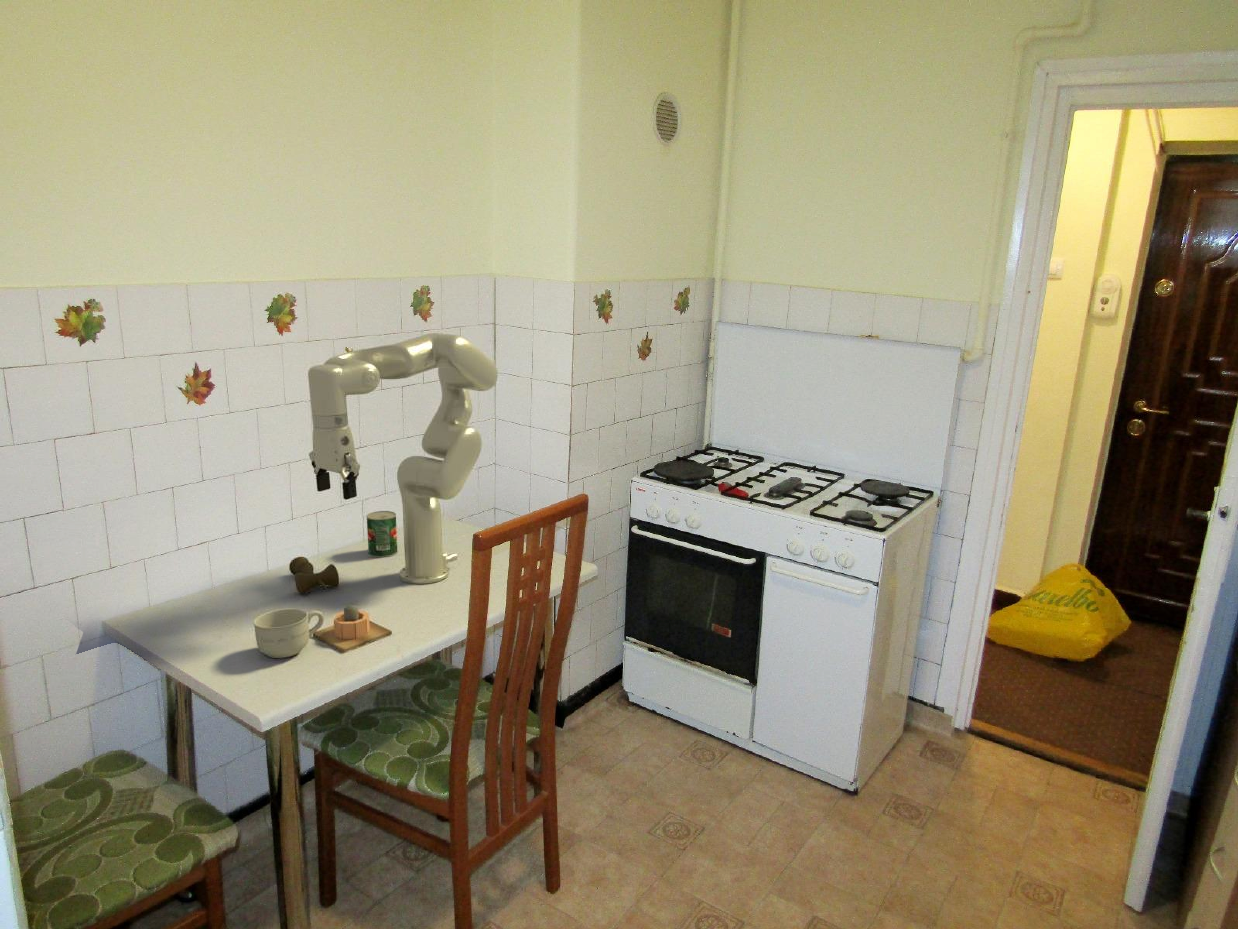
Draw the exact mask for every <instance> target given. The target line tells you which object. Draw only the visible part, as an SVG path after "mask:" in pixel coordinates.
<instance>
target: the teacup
mask: <svg viewBox="0 0 1238 929" xmlns="http://www.w3.org/2000/svg"><path fill="white" fill-rule="evenodd" d="M315 616H317V617H318V620H317V623H316V624H315V625H314V626H313V627H312V628H310V627H309V625H310V623H311V619H312V618H313V617H315ZM324 621H325V617H324V615H323V613H322V612H321V611H319V610H312V611H310V612H307V610H304V609H301V608H280V609H275V610H271V611H268V612H265V613H262V614H260V615H258V616H257V617H256V618H255V619H254V620H253V623H252V624H253V626H254V633H255V634H254V635H255V642H256V646H257V647H258V650H259V651H260V652H261V653H262V654H265V655H267V656H268V657H269V658H271V659H272V658H274V659H282V658H288V657H292V656H295V655H297V654H299V653H300V652H302V650H303V649H304V648H305V647H306V646H307V645H308V643H309V640H310V638H311V637H313V633H315V632H317V631H319V630H320V628H321V627H322V626H323V624H324Z"/></svg>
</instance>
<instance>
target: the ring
mask: <svg viewBox="0 0 1238 929" xmlns="http://www.w3.org/2000/svg"><path fill="white" fill-rule="evenodd" d="M358 614H359V620H357V621H354V622H345V620H344V611H342V612H340V613H337V614H335V616H334V619H333V625H334V632H335V636H337V637H339V638H341V639H355V638H356V639H357V638H359V637H362V636H365V635H367V634H368V632H369V629H370V627H369V621H370V615H369V614H370V613H368V612H366V611H365V610H362V609H361V610H360V609H358Z"/></svg>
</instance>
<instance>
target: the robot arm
mask: <svg viewBox="0 0 1238 929" xmlns="http://www.w3.org/2000/svg"><path fill="white" fill-rule="evenodd" d="M437 368H438V370H437V375H438V380H439V383H440V387H441V388H440V389H441V401H440V404H439V405H438V408H437V410H436V412H435V414H434V416H433V417H432V419H431V421H430V423H429V424H428V426H427V428H426V430H425V431H424V434H423V435H422V439H421V447H422V450H423V451H424V452H425V453H426V454H427V455H430V456H432V457H428V456H423V455H411V456H409V457H406V458H405V459H404V460H402V461H401V462H400V464H399V465H398V467H397V472H396V479H397V486H398V489H399V493H400V497H401V504H402V518H403V519H402V522H403V523H402V525H403V545H404V567H403V568H402V569H400V571H399V572H398V573H399V578H400V580H402V581H404V582H406V583H411V584H420V585H421V584H430V583H431V584H432V583H436V582H439V581H442V580H444V579H446V578H447V577H448V576H449V575H450V569H449V567H448V566H447V565H449V563H452V562H455V561H457V560H458V555H457V554H456V553H455V552H454V553H451V554H448V555H447V553H443V533H442V531H443V530H442V508H441V504H440V501H439V500H446V501H447V500H452V499H453V498H454V499H455V497H456V496H458V495H459V493H460V492H461V491H462V490H463V488H464V485H466V482H467V480H468V478H469V476H470V475H471V473H472V471H473V468H474V467H475V465H476V463H477V461H478V459H479V457H480V454H481V452H482V451H481V450H482V444H483V443H482V442H483V441H482V436H481V434H480V432H479V431H478V430H477V429H476V428H475V427H473V426H471V425H468V424H469V421H470V419H471V417H472V414H473V403H472V400H471V397H470V393H469V390H470V391H476V392H477V391H478V392H486V391H489V390H491V389H493V387H495V385H496V384H497V380H498V376H499V375H498V373H499V372H498V368H497V366H496V364H495V362H494V361H493V360H492V359H491V358H490V357H489V356H487V355H486V354H485V353H484V352H483V350H481V349H479V347H477V346H476V345H475V344H473V343H472V342H471V341H470V340H468V339H466V338H465V337H463V336H461V335H459V334H451V333H450V334H448V333H440V332H439V333H438V332H437V333H436V332H431V333H426V334H423V335H420V336H416V337H414V338H409V339H407V340H402V341H400V342H396V343H391V344H386V345H380V346H374V347H368V348H362V349H357V350H352V351H349V352H344V353H342V354H338V355H335V356H333V357H330V358H328V359H327V360H326V361H325V362H324V363H323V364H318V365H313V366H311V367H310V368H309V369H308V370H307V371H308V372H307V379H308V388H309V389H308V390H309V401H310V408H311V409H310V410H311V420H312V421H311V422H312V451H310V452H309V453H308V456H309V459H310V462H311V466H312V467H313V473H314V474H315V480H316V489H317V490H316V491H317V492H324V491H327V490H330V489H331V478H330V472H331V473H335V474H339V475H340V476H341V479H342V480H343V481H342V483H341V484H342V497H343V499H344V500H349V499H353V498H356V497H357V495H358V494H357V493H358V492H357V482H356V481H357V480H358V476H359V474H360V468H361V464H360V463H359V462H358V461H357V455H356V447H355V442H354V437H353V433H352V431H351V430H352V429H351V427H350V426H349V419H348V418H349V417H348V416H349V415H348V407H347V404H348V403H347V396H352V395H353V396H354V395H357V396H358V395H367V394H370V393H371V392H373V391H375V390H377V387H378V386H379V385H380V382H381V380H401V379H403V380H404V379H409V378H410V377H413V376H416V375H419V374H422V373H425V372H426V371H427V372H428V371H430V370H433V369H437ZM433 457H434V458H433ZM436 458H437V459H436ZM442 459H443V460H442ZM346 473H348V474H346Z"/></svg>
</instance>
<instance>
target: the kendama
mask: <svg viewBox="0 0 1238 929" xmlns="http://www.w3.org/2000/svg"><path fill="white" fill-rule="evenodd" d="M288 569H289V572H290V573H291V574H292V575H293V576H294V583H295V588H296V590H297V593H298V594H299V595H301V596H304V595H306V594H307V593H308V592H310V591H311V590H312V589H315V588H318V587H322V588H324V589H327V588H328V587H331V588H339V586H340V577H339V576H340V575H339V571H338V569H337V567H336V566H335V565H334V564H332V563H330V564H328V565H327V566H326V568H324V569H323V570H321V571H320V572H317V573H315V572H314V566H313V564H312V563H311V562H310V561H309V560H308V558H307V557H305V556H297V557H294V558H293V559H291V561H290V562H289V565H288Z"/></svg>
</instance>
